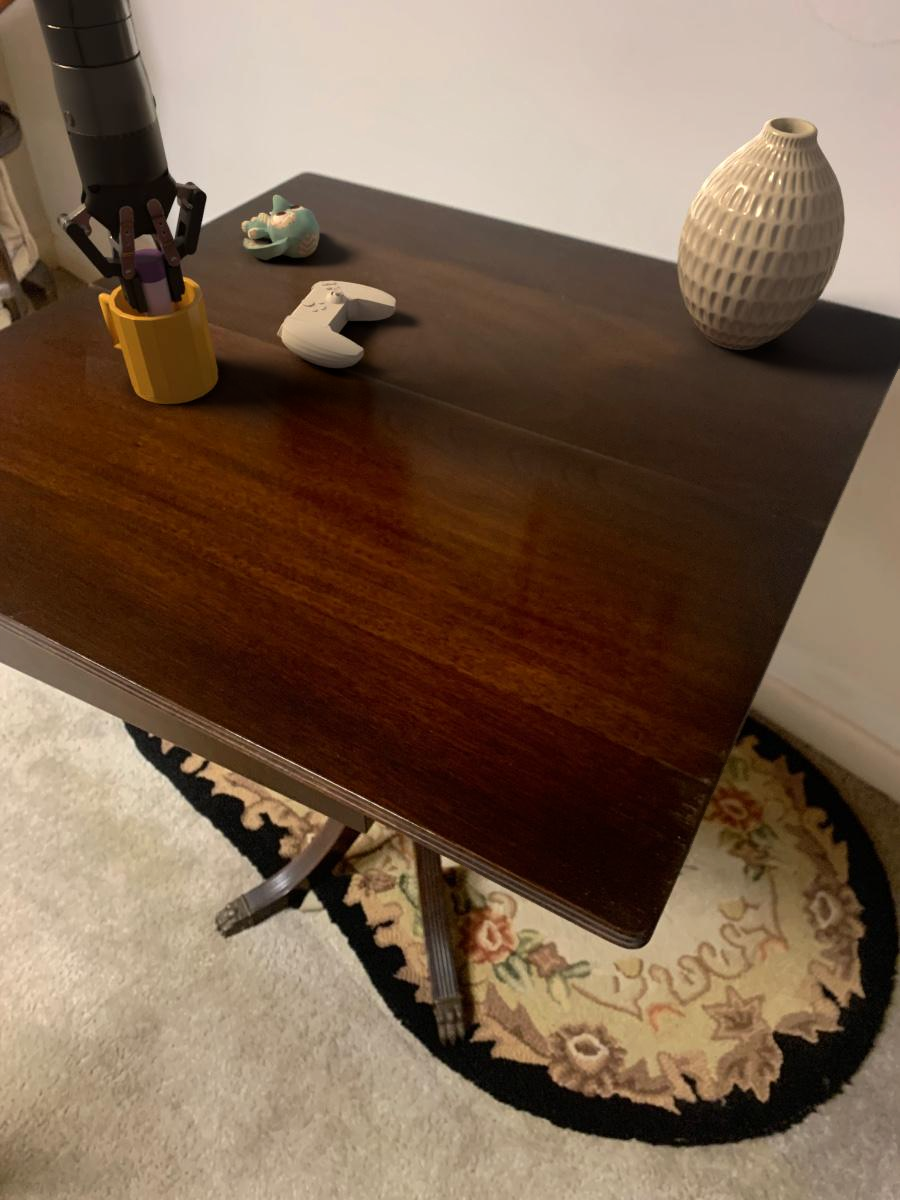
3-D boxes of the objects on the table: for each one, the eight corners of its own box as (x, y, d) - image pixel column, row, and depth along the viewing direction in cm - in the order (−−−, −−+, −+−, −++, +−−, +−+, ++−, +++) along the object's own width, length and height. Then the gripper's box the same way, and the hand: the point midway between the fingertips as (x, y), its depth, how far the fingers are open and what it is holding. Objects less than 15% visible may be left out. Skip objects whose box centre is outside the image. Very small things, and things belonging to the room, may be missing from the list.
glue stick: (152, 358, 89) (127, 263, 82) (156, 342, 91) (132, 248, 84) (182, 357, 90) (160, 262, 82) (185, 341, 92) (164, 247, 84)
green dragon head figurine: (270, 177, 115) (335, 184, 108) (284, 233, 120) (347, 243, 113) (206, 204, 109) (270, 213, 103) (224, 262, 114) (286, 274, 107)
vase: (637, 309, 104) (676, 104, 88) (758, 290, 108) (816, 89, 92) (704, 384, 94) (762, 168, 78) (835, 360, 98) (917, 148, 81)
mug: (234, 369, 95) (219, 286, 88) (185, 413, 89) (164, 328, 82) (145, 342, 98) (123, 260, 91) (92, 383, 92) (64, 299, 85)
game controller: (357, 355, 91) (267, 320, 91) (351, 389, 94) (265, 355, 95) (404, 289, 100) (322, 257, 101) (397, 322, 104) (318, 291, 104)
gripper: (171, 85, 79) (207, 269, 92) (11, 117, 73) (74, 308, 86) (207, 111, 75) (239, 300, 88) (40, 147, 69) (101, 343, 82)
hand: (157, 303), depth 87 cm, fingers closed on glue stick, 3 cm apart
